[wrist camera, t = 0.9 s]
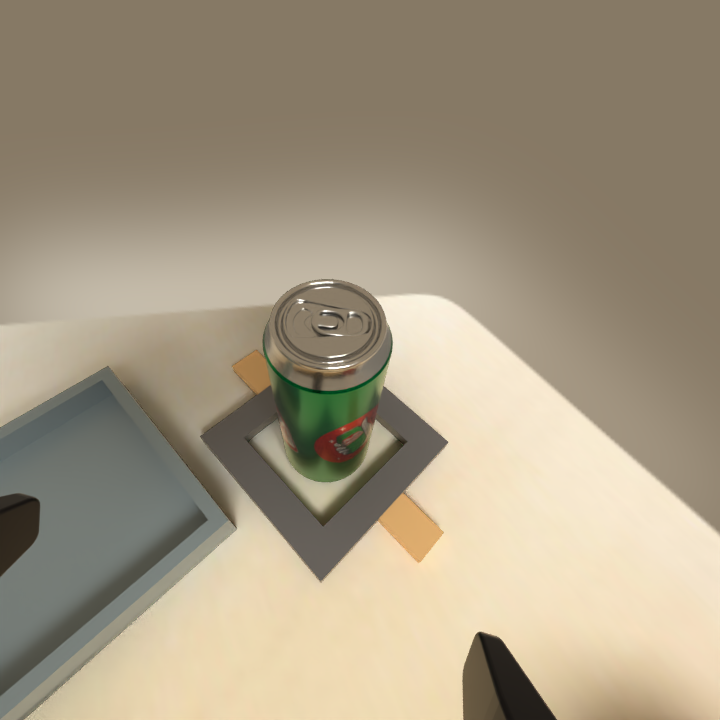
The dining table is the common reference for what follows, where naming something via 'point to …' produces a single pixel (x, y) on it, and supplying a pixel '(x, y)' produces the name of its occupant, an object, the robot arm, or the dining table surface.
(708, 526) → the dining table surface
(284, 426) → the soda can
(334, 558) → the grey rectangular frame
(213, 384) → the dining table surface
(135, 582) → the parts tray
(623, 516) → the dining table surface
